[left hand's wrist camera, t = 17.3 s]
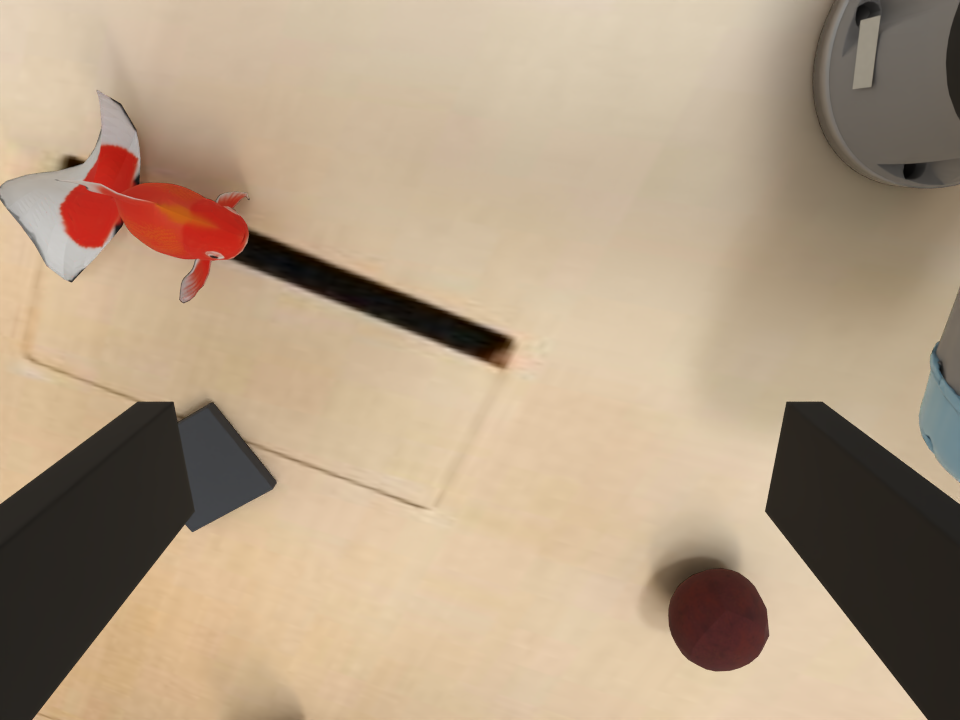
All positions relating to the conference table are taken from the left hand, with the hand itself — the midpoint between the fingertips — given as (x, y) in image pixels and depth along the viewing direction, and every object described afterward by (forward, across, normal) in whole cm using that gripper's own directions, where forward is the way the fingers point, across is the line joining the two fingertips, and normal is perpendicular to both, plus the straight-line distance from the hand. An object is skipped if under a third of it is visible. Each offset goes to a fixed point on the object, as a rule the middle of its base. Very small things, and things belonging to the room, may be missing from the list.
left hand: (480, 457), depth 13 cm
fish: (+29, -21, +3) cm, 36 cm away
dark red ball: (+29, +19, -28) cm, 44 cm away
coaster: (+29, -21, -17) cm, 40 cm away
